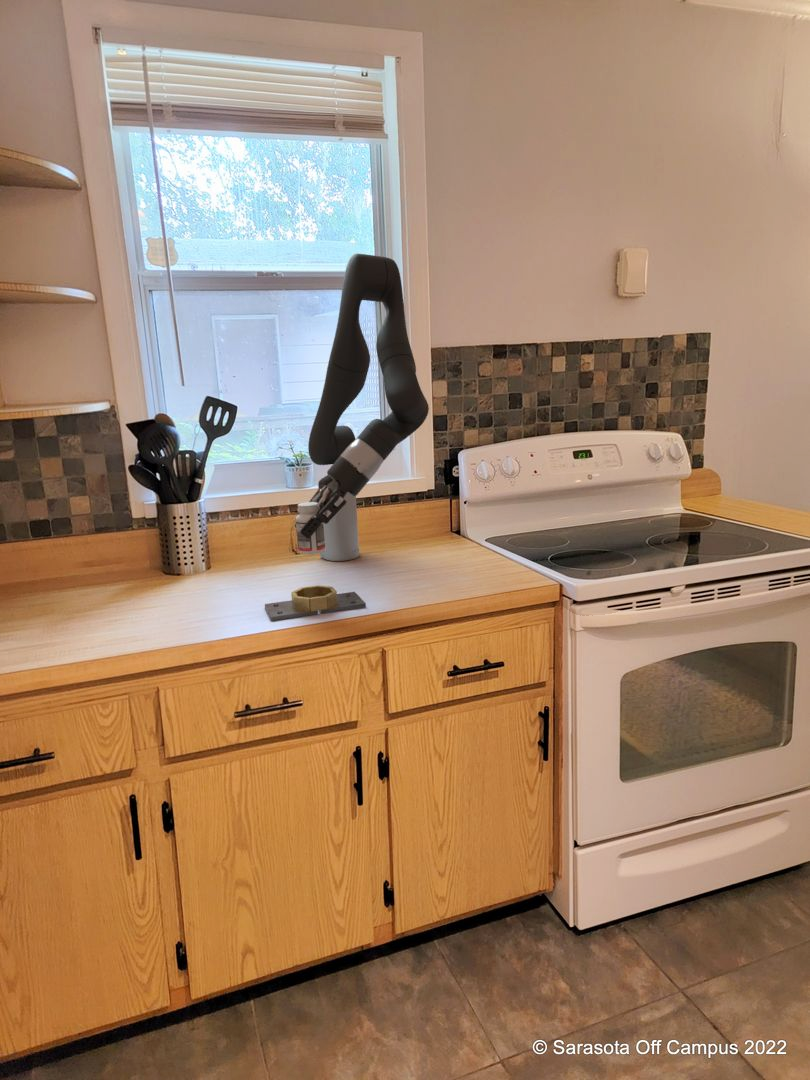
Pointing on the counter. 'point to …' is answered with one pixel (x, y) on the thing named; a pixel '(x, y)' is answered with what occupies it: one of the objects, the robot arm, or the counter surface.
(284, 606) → the octagonal bottle holder
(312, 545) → the pill bottle
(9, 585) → the counter surface
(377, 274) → the robot arm
